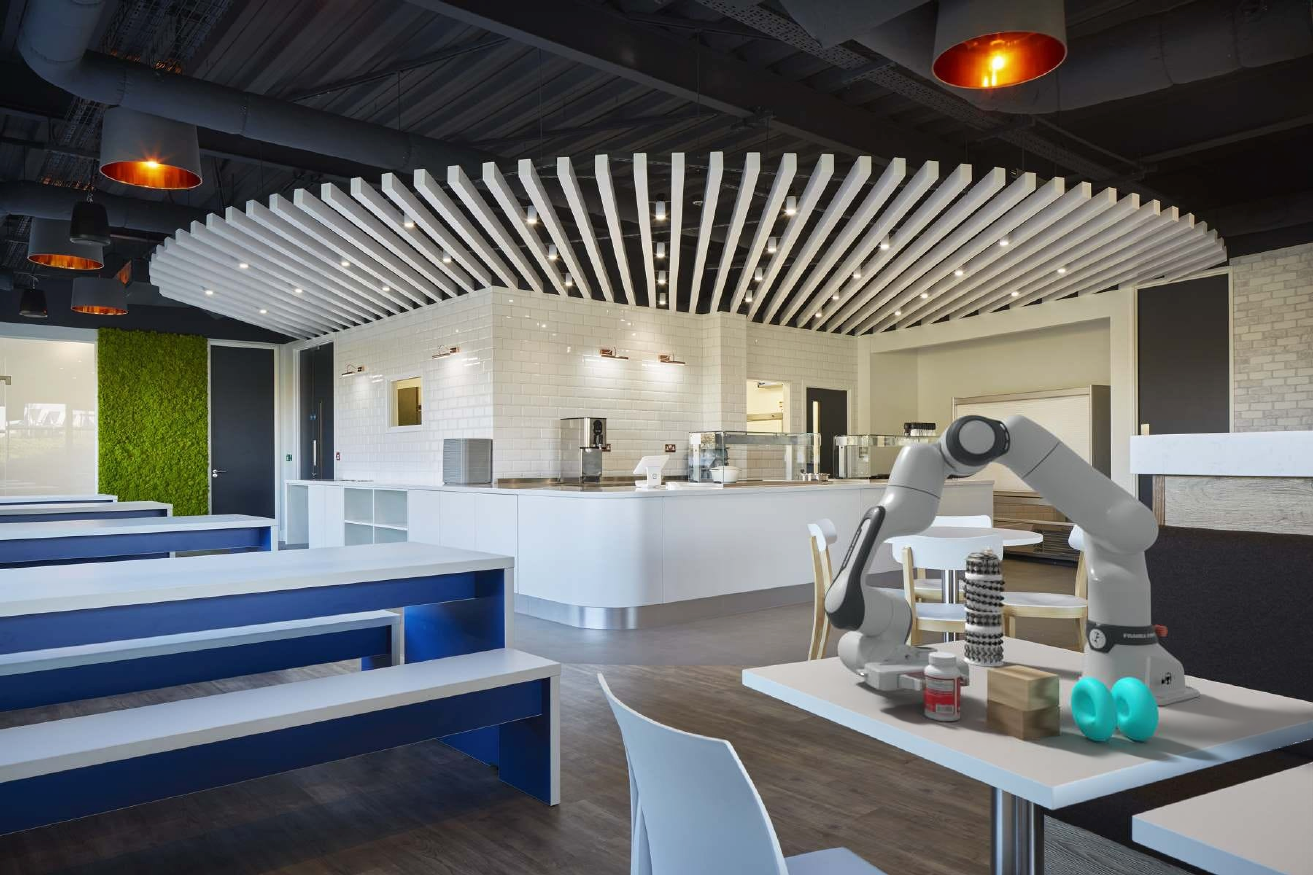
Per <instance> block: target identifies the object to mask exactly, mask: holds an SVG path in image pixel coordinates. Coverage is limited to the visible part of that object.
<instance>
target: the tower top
mask: <svg viewBox="0 0 1313 875" xmlns="http://www.w3.org/2000/svg"><path fill="white" fill-rule="evenodd" d="M986 676H987V677H986V678H987V686H986V687H987V691H986V692H987V694H986V695H987V697H986V700H987V699H989V700H992V701H995V702H999V703H1002V704H1005V705H1009V706H1012V707H1015V708H1019V709H1022V710H1025V711H1032V710H1037V709H1043V708H1048V707H1053V706H1060V675H1059V674H1056V673H1052V672H1047V671H1043V670H1041V669H1040V670H1039V669H1037V668H1031V667H1027V666H1025V665H1020V664H1016V665H1011V666H1010V665H1009V666H1004V667H1003V666H1002V667H997V668H990V669H987V672H986Z"/></svg>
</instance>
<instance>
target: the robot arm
mask: <svg viewBox="0 0 1313 875" xmlns="http://www.w3.org/2000/svg"><path fill="white" fill-rule="evenodd" d="M990 463H997V464H1000V465H1002V466H1004V467H1005V468H1007V469H1009V470H1010V471H1011V472H1012V473H1013V474H1015V476H1017V477H1018V478H1019V479H1020V480H1021V481H1023V482H1024V484H1026V485H1027V486H1028V487H1029V488H1031V489H1032V490H1033V491H1034V492H1035V493H1037V494H1038V495H1039V496H1040V497H1042V499H1043V500H1045V501H1046V502H1047V503H1048V504H1050V505H1051V506H1052V507H1053V508H1054V509H1056V510H1057V511H1058V512H1060V513H1061V514H1062V515H1063V516H1065V517H1067V519H1069V520H1070V521H1071V522H1072V523H1074V524H1075V525H1077V526H1078V527H1079V528H1080V529H1081V530H1082V537H1083V547H1084V548H1083V550H1084V558H1085V559H1084V560H1085V567H1086V568H1085V569H1086V575H1087V618H1086V619H1085V625H1084V629H1085V637H1086V639H1087V642H1086V643H1085V645H1084V649H1083V650H1084V651H1083V658H1082V670H1081V676H1078V681H1079V680H1081V679H1083V678H1094V679H1097V680H1099V681H1101V682H1102V683H1103V684H1104V685H1105V686H1106V687H1107V688H1108V689H1109V690H1110V692H1111V690H1112V688H1113V686H1114V684H1115V683H1116V682H1117V681H1118V680H1120V679H1122V678H1126V677H1132V678H1136V679H1138V680H1140V681H1142V682H1143V683H1144V684H1145V685H1146V686H1147V687H1148V688H1149V689H1150V691H1151V692H1152V694H1153V696H1154V698H1155V700H1156V703H1157V706H1166V705H1169V704H1170V705H1171V704H1174V703H1177V702H1181V701H1186V700H1190V699H1193V698H1197V697H1199V696H1200V695H1201V694H1200V691H1199V689H1196V688H1195V687H1191V686H1189V685H1186V678H1185V670H1184V667H1183V664H1182V663H1181V661H1180V660H1178V659H1177V658H1175V657H1174V655H1172V654H1171V653H1170V652H1168V651H1167V650H1166V649H1165V648H1164V647H1163V646H1161V645H1160V643H1159V640H1158V635H1159V636H1161V637H1166V636H1167V634H1168V628H1167V626H1164V625H1159V624H1155V625H1153V624H1152V615H1151V614H1152V612H1151V611H1152V609H1151V608H1152V605H1151V604H1152V602H1151V601H1152V600H1151V599H1152V598H1151V595H1152V593H1151V589H1152V588H1151V581H1150V579H1149V574H1148V568H1147V563H1146V556H1145V551H1146V550H1148V549H1149V548H1151V547H1152V546H1153V544H1155V542H1156V540H1157V539H1158V536H1159V529H1160V528H1159V522H1158V520H1157V518H1156V515H1155V514H1154V512H1153V511H1152V510H1151V509H1150V508H1149V507H1148V506H1147V505H1145V504H1144V503H1143V502H1141V501H1140V500H1139V499H1137V498H1136V497H1134V495H1132V494H1130V492H1128V491H1127V490H1125V489H1124V488H1123V487H1121V486H1120V485H1119V484H1117V483H1116V482H1115V481H1113V480H1112V479H1111V478H1110V477H1108V476H1107V475H1105V474H1104V473H1102V472H1101V471H1100V470H1098V469H1097V468H1095V467H1093V465H1091V464H1090V463H1088V462H1087V461H1086V460H1085V459H1084V458H1082V456H1080V455H1079V454H1078V453H1076V451H1074V450H1073V449H1072V448H1070V447H1069V446H1068V445H1067V444H1065V443H1064V442H1063V441H1062V440H1060V439H1059V437H1057V436H1056V435H1055V434H1053V433H1052V432H1050V431H1049V430H1048V429H1046V428H1044V427H1043V426H1042V425H1040V424H1038V423H1037V422H1036V421H1033V420H1032V419H1029V418H1028V417H1027V416H1024V415H1021V414H1012V415H1008V416H1006V417H1004V418H1003V419H1001V420H997V419H993V418H989V417H986V416H983V415H977V414H969V415H964V416H961V417H959V418H957V419H956V420H954V421H953V422H952V423H951V424H950V425H949V426H947V427H946V428H945V430H943V432H942V434H941V435H940V437H938V439H937V440H936V441H935V442H934V443H927V442H923V441H916V442H915V441H914V442H910V443H907V444H905V445H904V446H903V447H902V448H901V449H900V451H899V452H898V455H897V457H896V459H895V462H894V464H893V467H892V469H891V471H890V474H889V478H888V482H887V484H886V488H885V491H884V494H883V496H882V498H881V500H880V501H879V503H878V504H877V505H874V506H872V507H870V508H869V509H868V510H867V511H865V514H864V515H863V517H862V518H861V520H860V523H859V524H858V527H857V529H856V531H855V534H854V535H853V537H852V538H853V539H852V540H851V542H850V545H849V547H848V550H847V552H846V554H845V556H844V559H843V561H842V562H841V566H840V568H839V571H838V572H837V574H836V576H835V578H834V580H833V582H832V583H831V585H830V586H829V588H828V589H827V591H826V593H825V595H824V596H825V597H824V599H823V609H824V613H825V615H826V617H827V619H828V620H829V623H830V624H831V625H832V627H834V628H836V630H837V629H838V630H843V631H847V632H846V633H844V634H843V635H841V637H840V639H839V640H838V644H837V653H838V657H839V660H840V662H841V663H842V665H844V666H845V667H846V668H847V669H848V670H849V671H850V672H852V673H854V674H855V675H857V676H859V677H861V678H864V682H865V683H866V684H867V685H869V687H872V688H874V689H876V690H878V691H882V692H889V691H896V692H904V691H905V692H906V691H907V690H915V691H918V692H922V691H923V692H924V690H926V681H925V680H924V670H925V668H926V667H927V666H928V665H930V663H929V653H932V652H938V650H937V648H935V647H932V646H917V645H916V646H915V645H910V644H907V642H908V640H909V638H910V636H911V633H912V628H913V623H914V617H913V616H914V615H913V610H912V608H911V606H910V603H909V602H908V600H907V599H906V598H905V597H903V596H901V595H899V594H898V595H897V594H895V593H892V592H889V591H887V590H883V589H879V588H876V587H873V586H870V585H868V584H867V583H866V579H867V577H868V573H869V571H870V569H871V567H872V565H873V562H874V559H875V557H876V555H877V552H878V550H879V548H880V547H881V545H882V544H883V543H884V542H886V541H887V540H888V539H892V538H897V537H898V538H899V537H908V536H914V535H917V534H920V533H922V532H925V531H926V530H927V529H929V528H930V527H931V526H932V525H933V524H934V521H935V520H936V517H937V514H938V512H939V506H940V502H941V497H942V493H943V488H944V486H945V483H946V481H947V479H965V478H969V477H973V476H975V475H976V474H977V473H980V472H981V471H982V470H984V469H985V468H987V467H988V465H989V464H990ZM955 667H956V668H957V669H958V670H959V671H960V675H961V687H968V686H970V666H969V663H966V662H965V661H964V660H962V659H960V658H957V657H956V664H955Z"/></svg>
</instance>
